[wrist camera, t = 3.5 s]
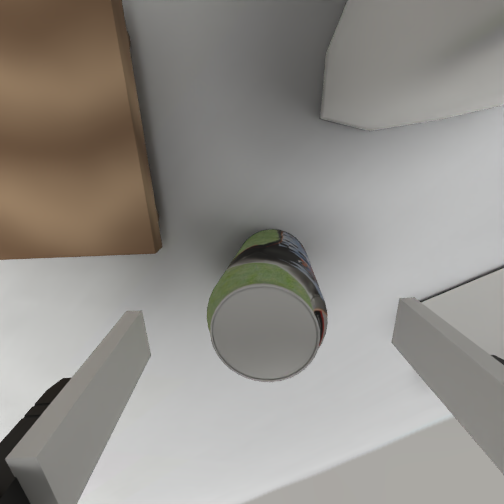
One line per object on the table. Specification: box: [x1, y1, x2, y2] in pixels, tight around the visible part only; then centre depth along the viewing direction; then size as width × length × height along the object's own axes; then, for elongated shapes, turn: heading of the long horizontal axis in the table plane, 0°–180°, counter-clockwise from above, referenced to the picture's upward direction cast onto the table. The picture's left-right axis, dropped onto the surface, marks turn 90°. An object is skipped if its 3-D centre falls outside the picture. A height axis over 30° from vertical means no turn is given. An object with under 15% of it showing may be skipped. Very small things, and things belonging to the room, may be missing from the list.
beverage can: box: [207, 229, 327, 382], centre depth 16 cm, size 6×7×12 cm
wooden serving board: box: [0, 0, 162, 260], centre depth 17 cm, size 16×16×4 cm
